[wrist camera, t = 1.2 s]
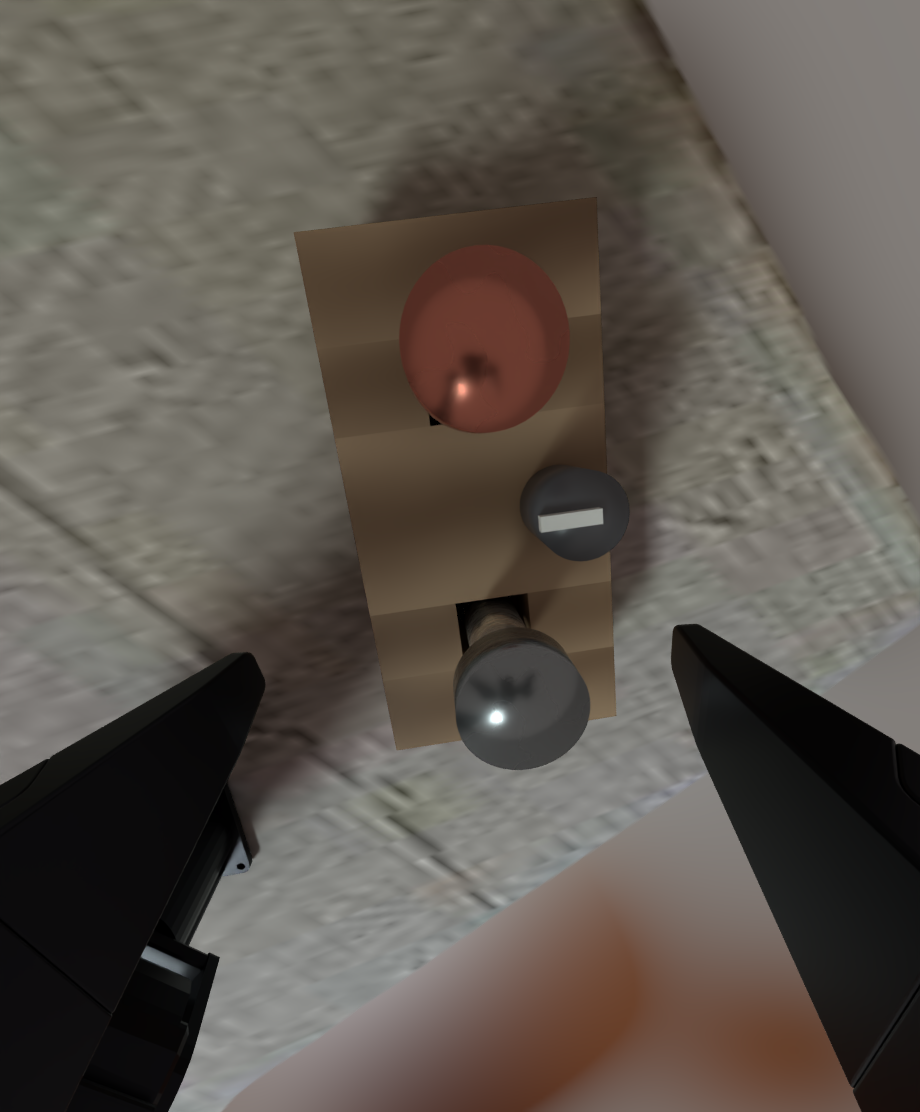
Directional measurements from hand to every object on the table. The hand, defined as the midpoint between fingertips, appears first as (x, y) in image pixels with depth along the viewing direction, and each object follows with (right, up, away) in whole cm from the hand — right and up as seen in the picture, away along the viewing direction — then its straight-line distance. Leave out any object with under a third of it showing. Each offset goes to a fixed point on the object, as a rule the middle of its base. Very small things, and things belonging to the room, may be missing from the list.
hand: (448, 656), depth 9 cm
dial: (+4, +4, +8) cm, 10 cm away
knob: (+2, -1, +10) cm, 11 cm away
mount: (+1, +5, +13) cm, 13 cm away
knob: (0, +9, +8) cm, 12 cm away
